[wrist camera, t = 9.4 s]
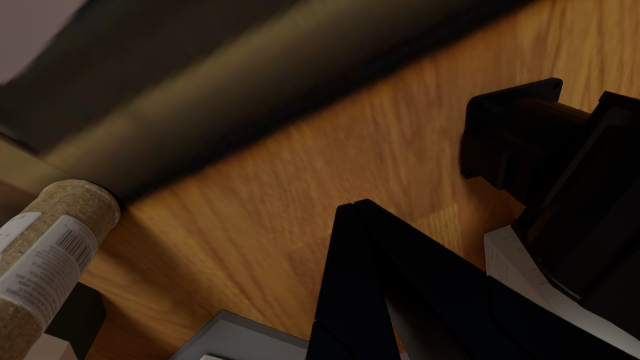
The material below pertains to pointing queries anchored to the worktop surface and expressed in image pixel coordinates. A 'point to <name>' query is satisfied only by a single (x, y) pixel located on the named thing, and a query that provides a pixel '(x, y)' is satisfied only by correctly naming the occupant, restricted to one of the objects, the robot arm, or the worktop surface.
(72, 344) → the wine bottle
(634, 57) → the worktop surface
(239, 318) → the base
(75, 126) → the worktop surface
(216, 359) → the white tall block
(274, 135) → the worktop surface
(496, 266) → the skincare box
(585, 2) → the worktop surface
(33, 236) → the sprinkles bottle
